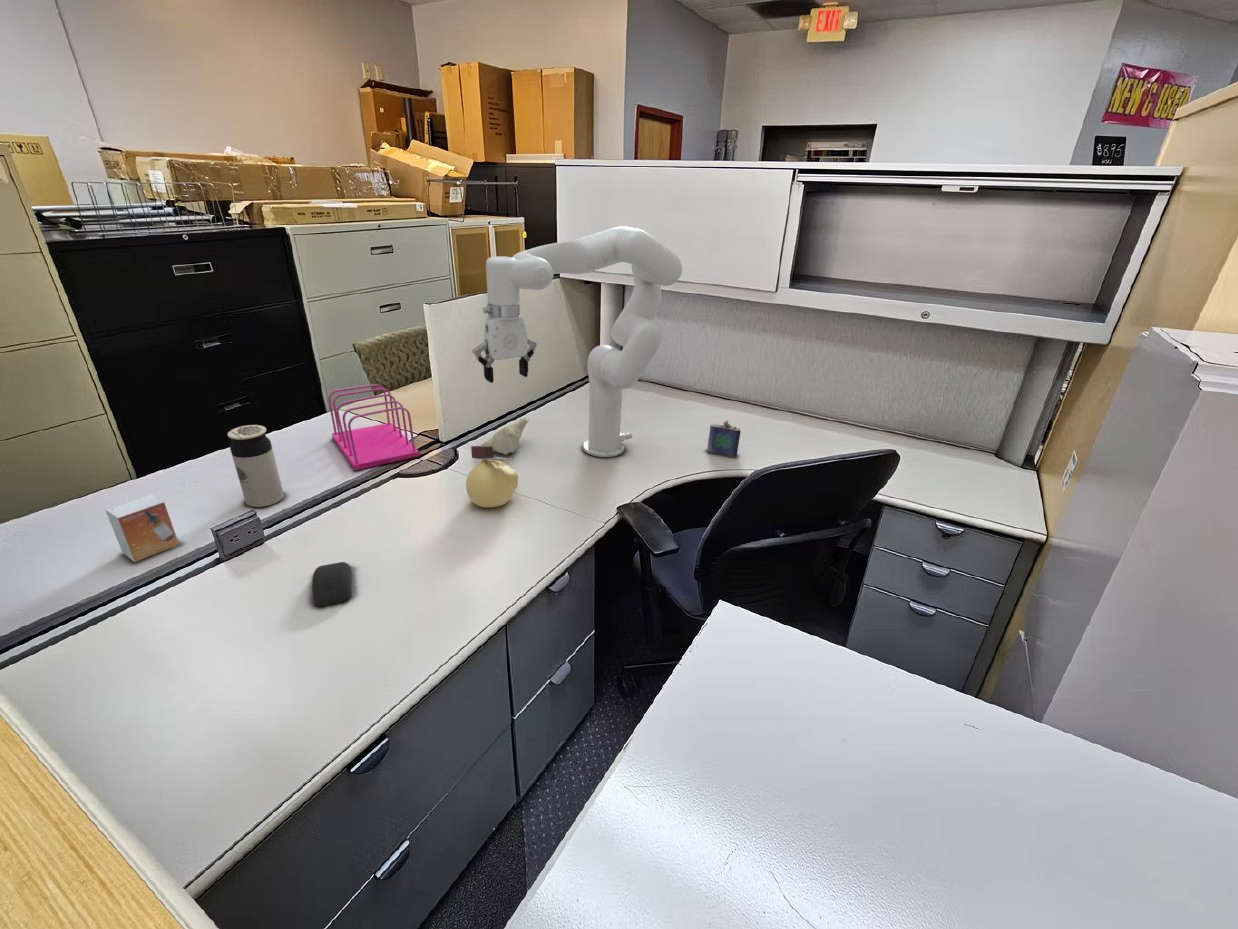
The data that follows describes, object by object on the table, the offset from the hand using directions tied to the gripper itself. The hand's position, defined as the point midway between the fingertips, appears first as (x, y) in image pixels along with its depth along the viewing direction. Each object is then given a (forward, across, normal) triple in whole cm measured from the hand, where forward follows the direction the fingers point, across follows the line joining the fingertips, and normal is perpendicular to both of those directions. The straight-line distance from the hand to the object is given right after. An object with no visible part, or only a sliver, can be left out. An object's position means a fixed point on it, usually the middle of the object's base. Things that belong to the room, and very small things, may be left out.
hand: (506, 378), depth 144 cm
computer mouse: (+26, -52, -26) cm, 64 cm away
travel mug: (+26, -57, +17) cm, 65 cm away
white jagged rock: (+26, +6, +13) cm, 30 cm away
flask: (+26, +59, -25) cm, 69 cm away
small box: (+26, -79, +7) cm, 84 cm away
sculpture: (+26, -12, -13) cm, 32 cm away
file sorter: (+26, -27, +33) cm, 50 cm away
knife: (+15, -12, -13) cm, 23 cm away
